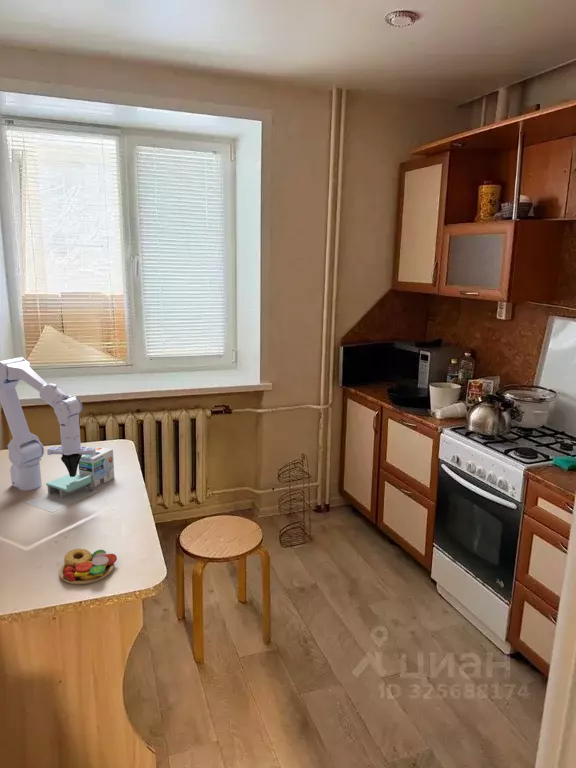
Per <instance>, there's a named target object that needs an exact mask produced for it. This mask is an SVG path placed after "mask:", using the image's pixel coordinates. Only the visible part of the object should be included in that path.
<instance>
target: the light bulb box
mask: <svg viewBox="0 0 576 768" xmlns="http://www.w3.org/2000/svg"><path fill="white" fill-rule="evenodd" d="M94 448H95V452H96V454H95V455H94V456H91V455H82V456H81V459H80V461H79V464H78V472H79V473H78V475H81V476H84V477H86V476H87V475H88V474H93V475H94V482H93V487H97V486H99V485H101V484H106V483H108V482H109V481H111V480H113V479H115V465H114V450H113V448H112V449H111V448H106V447H101V446H97V447H94ZM86 486H89V485H88V484H87V485H86Z"/></svg>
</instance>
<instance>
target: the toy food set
mask: <svg viewBox="0 0 576 768" xmlns="http://www.w3.org/2000/svg"><path fill="white" fill-rule="evenodd" d="M117 560H118V557H117V555H116V554H115V553H107V552H106V551H105V549H97V550H96V551H94V552H93V553H91V551H90V550H88V549H85V548H81V547H80V548H75V549H72V550H69V551H68V552H67V553H66V554H65V555H64V558H63V562H64V563H63V565H62V566H61V567H60V568H59V572H58V574H59V578H60V579H62V581H64V582H66V583H69V584H71V585H76V586H78V585H81V586H82V585H89V584H93V583H96V582H98V581H100V580H103V579H104V578H106V576H108V575H109V574H110V573H111V572H112V571H113V569H114V567H115V563H116V562H117Z"/></svg>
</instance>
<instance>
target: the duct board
mask: <svg viewBox="0 0 576 768" xmlns="http://www.w3.org/2000/svg"><path fill="white" fill-rule="evenodd" d="M46 486H47V485H46ZM87 486H88V487H87ZM59 491H60V494H58V493H57V488H54V487H50V486H47V493H45V494H42V495H40V496H38V497H35V498H33V499H30V500H28V501H25V502H24V504H27V505H30V506H33V507H35V508H39V509H41V510H43V511H47V512H49V513H55V512H57V511H60V510H61V509H64V508H65V507H67V506H70V505H72V504H75V503H77V502H79V501H81V500H83V499H85V498H88V497H90V496H92V495H94V494H96V493H99V492H100V491H99V490H97V489H94V486H93V482H91V483H89V484H88V485H84V486H82V487H80V488H78V489H75V490H73V491H71V492H66V491H63V490H60V489H59Z"/></svg>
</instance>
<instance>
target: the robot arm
mask: <svg viewBox="0 0 576 768" xmlns="http://www.w3.org/2000/svg"><path fill="white" fill-rule="evenodd" d="M31 367H32V366H31V363H30V362H29V361H27V359H25V358H24V357H23V356H17V357H15V358H9V359H3V360H0V404H1V408H2V410H3V413H4V416H5V419H6V422H7V425H8V428H9V430H10V435H11V436H12V438H11V440H10V441H9V443H8V444H7V445H6V446H7V450H8V459H9V461H10V463H11V465H10V466H11V467H10V469H9V470H10V471H9V472H10V481H11V482H10V483H11V486H12V487H15V488H17V489H18V490H20V491H32V490H36V489H38V488H40V487H41V486H42V474H41V472H42V471H41V463H40V462H41V461H42V457H44V455H45V448H44V444H43V443H41V441H40V439H39V435H36V434H34V433H32V432H30V427H29V426H28V422H27V420H26V416H25V413H24V410H23V408H22V403H21V401H20V399H19V395H18V392H17V390H16V387H17V385H18V383H20V382H21V381H22V382H24V383H26V384H27V385H28V386H30V387H31V388H33V389H35V390H36V391H38V392H39V398H40V399H42V400H43V401H44V402H45V403H46V404H48V405H49V406H50V407H52V408H53V412H54V414H55V416H56V418H57V422H58V423H59V432H60V433H59V434H60V445H61V446H49V447H48V448H47V449H46V455H48V456H51V455H61V457H60V460H61V461H62V463H63V464H64V466H65V467H66V470H67V471H68V474H69V475H70V477H75V476H76V474H77V472H78V468H79V461H80V459H81V456H82V455H91V456H94V455H95V454H96V452H95V448H96V447H88V446H82V443H81V428H80V413H81V412H83V411H82V410H83V403H82V401H81V400H80V399H79V397H78V396H76V395H70V394H67V393H66V392H65V391H63V390H62V389H60V387H58V385H57V384H55V383H47V382H46V380H44V379H43V378H42V377H41V376H40V375H39V374H37V373H36V372H35V370H33V369H32V368H31Z"/></svg>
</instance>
